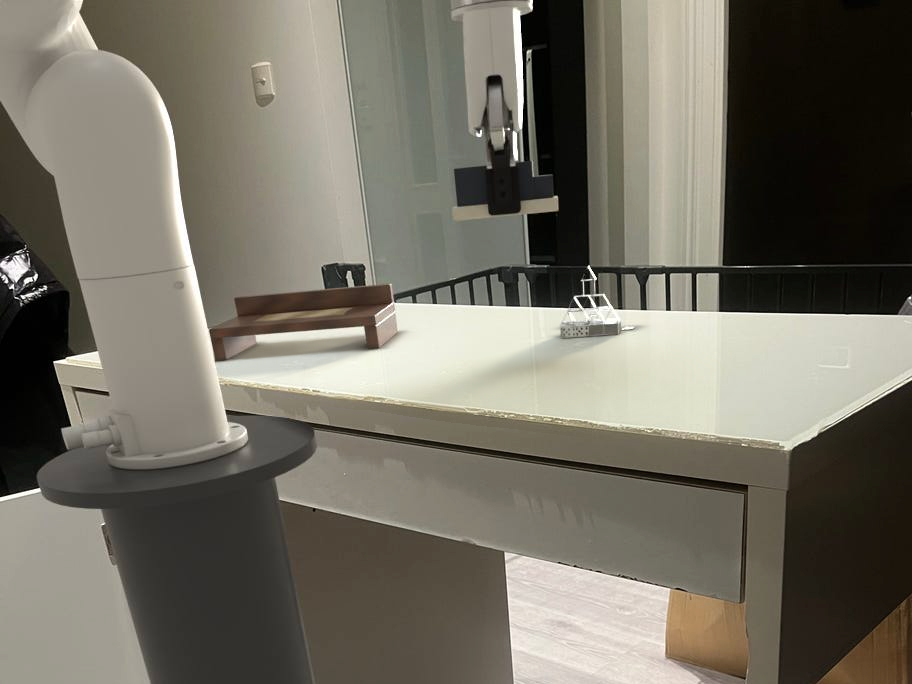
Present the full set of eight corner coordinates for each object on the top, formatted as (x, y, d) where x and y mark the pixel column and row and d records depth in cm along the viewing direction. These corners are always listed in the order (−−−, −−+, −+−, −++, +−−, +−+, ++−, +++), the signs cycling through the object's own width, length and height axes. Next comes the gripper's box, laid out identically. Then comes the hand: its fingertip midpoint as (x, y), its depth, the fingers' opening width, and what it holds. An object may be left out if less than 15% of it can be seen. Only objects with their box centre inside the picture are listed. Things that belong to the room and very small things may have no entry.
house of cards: (636, 321, 121) (635, 256, 117) (634, 333, 113) (632, 264, 110) (565, 326, 123) (562, 262, 119) (558, 338, 115) (555, 270, 112)
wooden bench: (215, 360, 124) (204, 309, 121) (246, 344, 135) (236, 296, 132) (379, 348, 121) (372, 295, 118) (397, 332, 132) (391, 283, 129)
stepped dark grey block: (453, 221, 94) (448, 169, 92) (457, 218, 98) (452, 168, 96) (558, 210, 93) (555, 158, 91) (558, 208, 97) (555, 158, 95)
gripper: (458, 13, 96) (475, 212, 104) (440, -14, 81) (462, 221, 89) (533, 4, 95) (544, 205, 103) (529, -24, 80) (542, 213, 88)
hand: (506, 210), depth 96 cm, fingers closed on stepped dark grey block, 4 cm apart
